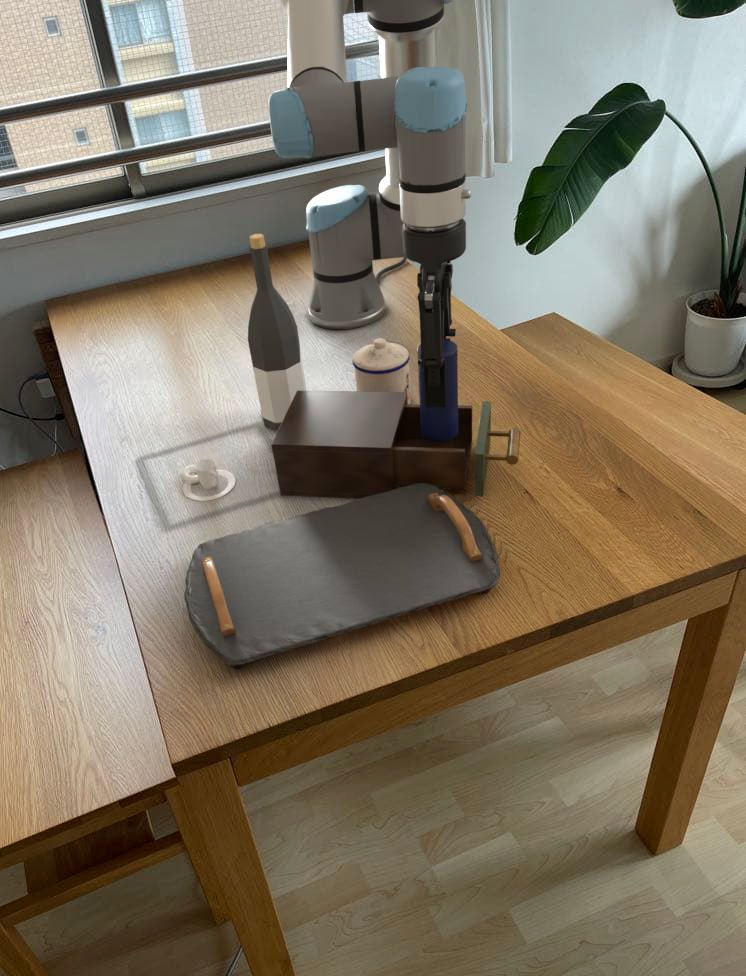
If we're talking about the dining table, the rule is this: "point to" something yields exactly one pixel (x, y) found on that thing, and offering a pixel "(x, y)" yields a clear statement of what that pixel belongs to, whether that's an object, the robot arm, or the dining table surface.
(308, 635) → the serving tray
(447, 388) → the navy cylinder
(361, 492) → the cabinet
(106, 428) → the dining table surface
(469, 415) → the drawer
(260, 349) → the wine bottle
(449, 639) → the dining table surface
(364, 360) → the teacup with lid
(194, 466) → the teacup and saucer
